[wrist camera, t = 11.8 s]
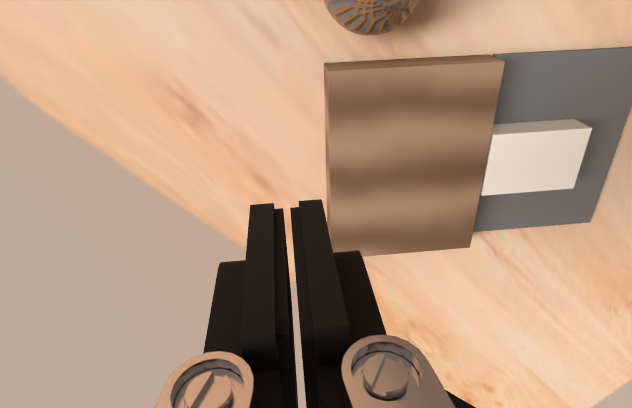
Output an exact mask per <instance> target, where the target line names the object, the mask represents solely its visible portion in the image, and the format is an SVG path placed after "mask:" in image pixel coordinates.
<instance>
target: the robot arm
mask: <svg viewBox="0 0 632 408" xmlns="http://www.w3.org/2000/svg"><path fill="white" fill-rule="evenodd" d="M290 209H291V222H292V234H293V246H294V259H295V271H296V284H297V296H298V308H299V320H300V333H301V345H302V358H303V370H304V382H305V394H306V407H307V408H475V407H474V406H472V405H470V404H468V403H467V402H465V401H463V400H462V399H460V398H458V397H456V396H455V395H453V394H451V393H450V392H448V391H446V390H445V389H444V387H443V386H442V384H441V382H440V380H439V379H438V377H437V375H436V374H435V372H434V370H433V369H432V367H431V365H430V363H429V362H428V360H427V359H426V357H425V356H424V355H423V354H422V352H421V351H420V350H419V349H418V348H417V347H415V346H414V345H412V344H411V343H410V342H408V341H406V340H403V339H401V338H398V337H396V336H389V335H387V334H386V331H385V328H384V325H383V321H382V318H381V315H380V312H379V309H378V306H377V302H376V299H375V296H374V293H373V290H372V286H371V283H370V280H369V277H368V274H367V271H366V267H365V264H364V261H363V258H362V255H361V252H360V251H359V250H356V251H345V252H333V249H332V245H331V240H330V235H329V231H328V226H327V222H326V217H325V213H324V208H323V203H322V200H321V199H320V200H308V201H299V207H295V208H290ZM154 408H298V397H297V380H296V365H295V349H294V332H293V316H292V302H291V290H290V278H289V267H288V256H287V245H286V234H285V223H284V213H283V209H274V203H270V204H258V205H250V215H249V227H248V238H247V250H246V260H244V261H231V262H221V263H220V264H219V268H218V273H217V278H216V284H215V290H214V295H213V302H212V307H211V313H210V318H209V324H208V330H207V336H206V341H205V347H204V353H203V354H201V355H198V356H195V357H193V358H191V359H189V360H188V361H186V362H184V363H183V364H181V365H180V366H179V367H178V368H177V369H176V370H175V371H174V372H173V373H172V374H171V375H170V376H169V378H168V380H167V381H166V383H165V385H164V387H163V389H162V391H161V393H160V396H159V398H158V401H157V403H156V405H155V407H154Z"/></svg>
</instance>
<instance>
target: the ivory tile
mask: <svg viewBox="0 0 632 408" xmlns="http://www.w3.org/2000/svg"><path fill="white" fill-rule="evenodd" d="M591 131H592V128H591V127H589V126H587V125H585V124H583V123H581V122H579V121H577V120H575V119H567V120H552V121H538V122H523V123H508V124H494V125H493V128H492V133H491V138H490V143H489V149H488V154H487V159H486V165H485V170H484V175H483V180H482V186H481V191H480V194H481V196H485V195H497V194H510V193H523V192H535V191H548V190H560V189H573V188H574V185H575V182H576V179H577V175H578V172H579V169H580V166H581V163H582V159H583V156H584V153H585V150H586V147H587V143H588V140H589V137H590V134H591Z"/></svg>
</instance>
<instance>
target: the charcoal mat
mask: <svg viewBox="0 0 632 408" xmlns="http://www.w3.org/2000/svg"><path fill="white" fill-rule="evenodd" d="M493 57H495V58H498V59H500V60H503V61H505V64H504V69H503V75H502V80H501V85H500V91H499V96H498V101H497V106H496V112H495V117H494V122H493V125H494V124H508V123H523V122H538V121H552V120H567V119H575V120H577V121H579V122H581V123H583V124H585V125H587V126H589V127H591V128H592V131H591V134H590V137H589V140H588V143H587V147H586V150H585V153H584V156H583V159H582V163H581V166H580V169H579V172H578V175H577V179H576V182H575V185H574V188H573V189H560V190H548V191H535V192H523V193H510V194H497V195H485V196H481V194H480V196H479V202H478V207H477V212H476V217H475V223H474V228H473V232H478V231H490V230H503V229H515V228H527V227H539V226H551V225H563V224H575V223H587V222H590V220H591V217H592V215H593V212H594V209H595V206H596V203H597V201H598V198H599V195H600V192H601V189H602V186H603V184H604V181H605V178H606V175H607V172H608V169H609V167H610V164H611V161H612V158H613V155H614V153H615V150H616V147H617V144H618V141H619V138H620V136H621V133H622V130H623V127H624V124H625V122H626V119H627V116H628V113H629V110H630V107H631V105H632V47H620V48H601V49H582V50H563V51H545V52H526V53H507V54H493Z"/></svg>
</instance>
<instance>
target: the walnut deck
mask: <svg viewBox="0 0 632 408" xmlns="http://www.w3.org/2000/svg"><path fill="white" fill-rule="evenodd" d="M504 64H505V61H503V60H500V59H498V58H495V57H493V56H490V55H470V56H451V57H432V58H413V59H395V60H376V61H357V62H338V63H324V86H325V132H326V177H327V222H328V231H329V235H330V240H331V245H332V249H333V252H345V251H356V250H359V251H360V252H361V255H362V257H363V256H375V255H387V254H398V253H410V252H422V251H434V250H445V249H457V248H469V247H470V244H471V239H472V233H473V228H474V223H475V217H476V212H477V207H478V202H479V196H480V191H481V186H482V180H483V175H484V170H485V165H486V159H487V154H488V149H489V143H490V138H491V133H492V128H493V122H494V117H495V112H496V106H497V101H498V96H499V91H500V85H501V80H502V75H503V69H504Z"/></svg>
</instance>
